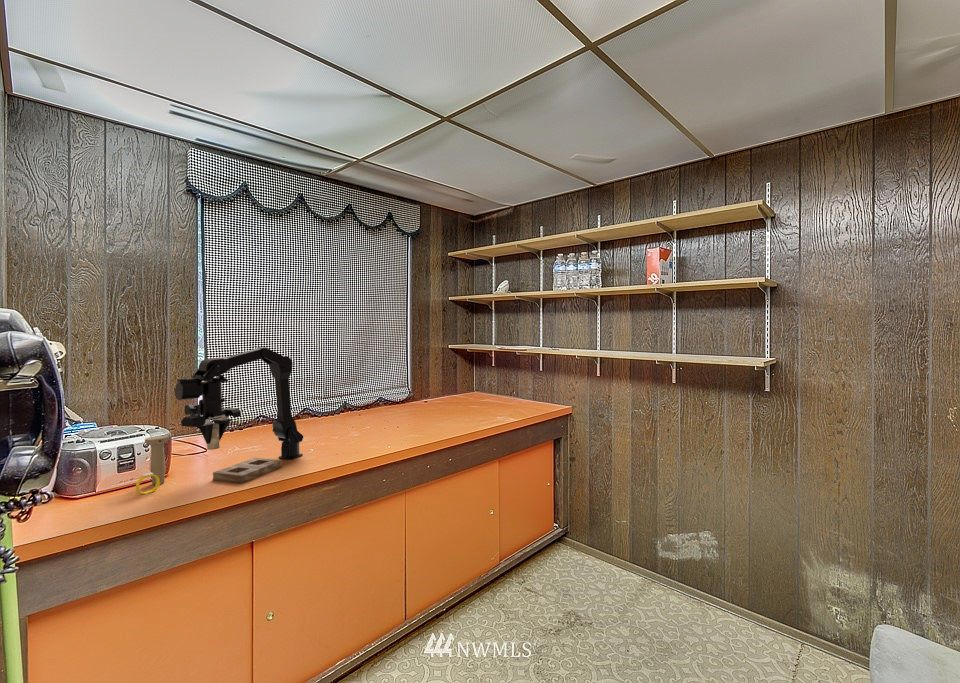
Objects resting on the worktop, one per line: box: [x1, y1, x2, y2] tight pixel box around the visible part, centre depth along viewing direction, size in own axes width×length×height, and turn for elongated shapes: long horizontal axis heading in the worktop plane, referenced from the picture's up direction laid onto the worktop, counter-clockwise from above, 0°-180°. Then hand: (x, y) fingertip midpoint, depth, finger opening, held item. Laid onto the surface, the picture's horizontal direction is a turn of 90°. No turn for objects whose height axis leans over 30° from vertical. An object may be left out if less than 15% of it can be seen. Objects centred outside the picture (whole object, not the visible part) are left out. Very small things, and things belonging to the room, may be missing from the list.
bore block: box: [212, 457, 283, 484], centre depth 158 cm, size 18×12×2 cm, turn 163°
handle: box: [144, 434, 170, 486], centre depth 147 cm, size 5×6×15 cm
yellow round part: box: [135, 472, 161, 495], centre depth 139 cm, size 6×3×6 cm, turn 151°
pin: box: [206, 423, 220, 451], centre depth 154 cm, size 4×4×8 cm
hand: (213, 442), depth 154 cm, fingers closed on pin, 4 cm apart
